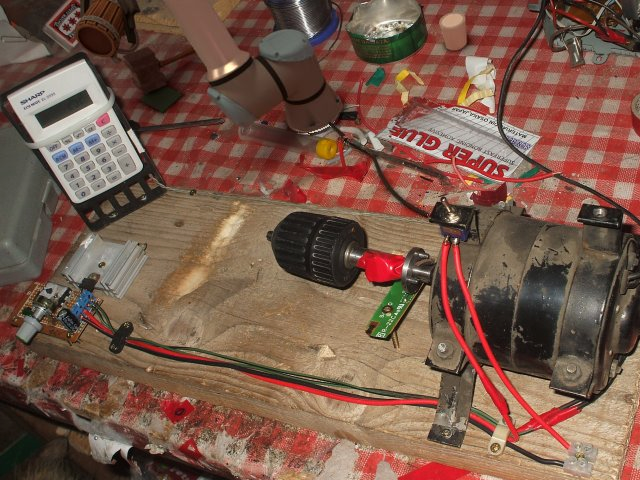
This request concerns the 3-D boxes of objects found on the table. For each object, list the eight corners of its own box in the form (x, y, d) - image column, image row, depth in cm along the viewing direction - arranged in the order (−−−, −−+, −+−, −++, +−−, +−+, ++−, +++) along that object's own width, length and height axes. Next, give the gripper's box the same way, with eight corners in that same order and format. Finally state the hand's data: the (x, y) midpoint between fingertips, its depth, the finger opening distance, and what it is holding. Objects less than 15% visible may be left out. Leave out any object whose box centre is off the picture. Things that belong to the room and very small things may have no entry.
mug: (95, 18, 152) (115, -19, 160) (63, 29, 156) (84, -8, 164) (139, 69, 165) (155, 33, 172) (108, 78, 168) (125, 42, 176)
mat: (183, 95, 183) (182, 94, 182) (163, 113, 180) (162, 111, 180) (160, 84, 188) (159, 82, 188) (140, 100, 186) (139, 99, 186)
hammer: (133, 86, 187) (119, 55, 180) (229, 47, 199) (220, 16, 191) (142, 95, 184) (128, 64, 176) (239, 54, 195) (230, 23, 188)
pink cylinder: (440, 41, 168) (435, 18, 163) (463, 31, 168) (459, 8, 162) (448, 55, 164) (444, 32, 159) (472, 45, 164) (469, 21, 158)
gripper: (143, -51, 162) (160, 41, 167) (72, -36, 167) (91, 53, 172) (125, -60, 155) (143, 37, 160) (51, -44, 160) (71, 49, 165)
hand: (116, 45), depth 166 cm, fingers closed on mug, 9 cm apart
